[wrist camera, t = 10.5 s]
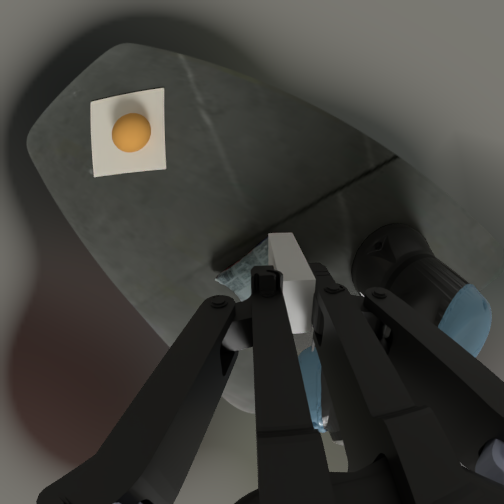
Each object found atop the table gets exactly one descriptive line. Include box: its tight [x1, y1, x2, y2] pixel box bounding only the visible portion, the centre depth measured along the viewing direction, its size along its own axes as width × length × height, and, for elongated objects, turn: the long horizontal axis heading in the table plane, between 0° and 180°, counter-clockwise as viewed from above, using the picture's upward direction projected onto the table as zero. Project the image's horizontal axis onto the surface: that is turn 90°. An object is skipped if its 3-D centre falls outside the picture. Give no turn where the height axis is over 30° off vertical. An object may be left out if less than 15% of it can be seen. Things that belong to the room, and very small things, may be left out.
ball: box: [112, 113, 151, 152], centre depth 33 cm, size 6×6×6 cm
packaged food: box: [215, 232, 275, 302], centre depth 42 cm, size 9×12×5 cm
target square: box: [91, 88, 166, 177], centre depth 35 cm, size 12×12×1 cm
